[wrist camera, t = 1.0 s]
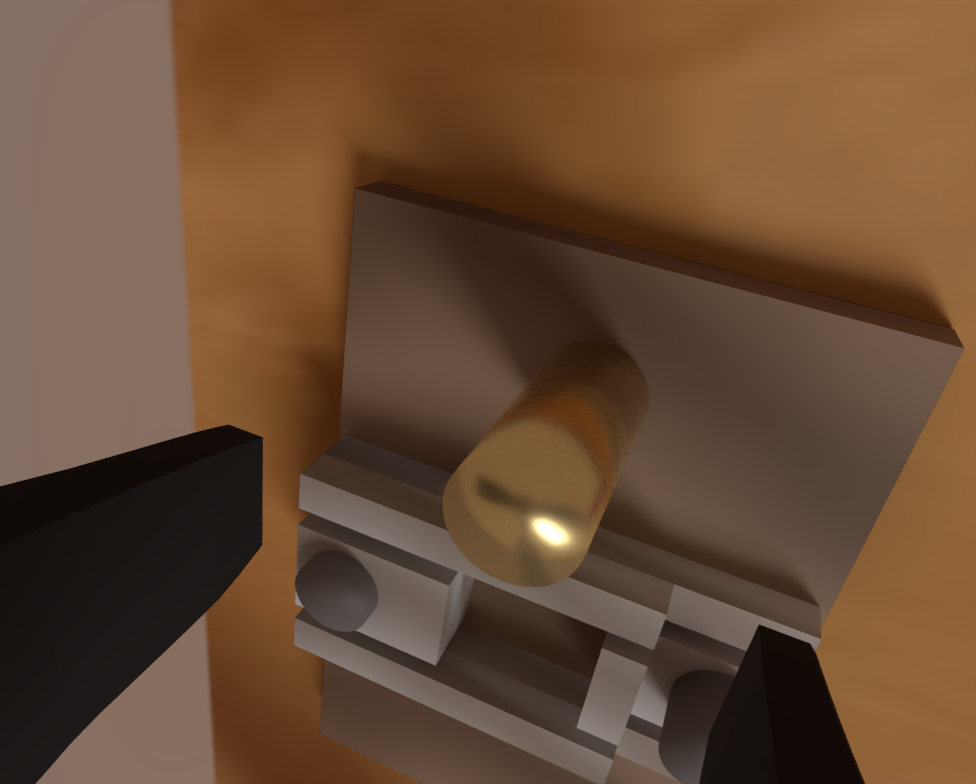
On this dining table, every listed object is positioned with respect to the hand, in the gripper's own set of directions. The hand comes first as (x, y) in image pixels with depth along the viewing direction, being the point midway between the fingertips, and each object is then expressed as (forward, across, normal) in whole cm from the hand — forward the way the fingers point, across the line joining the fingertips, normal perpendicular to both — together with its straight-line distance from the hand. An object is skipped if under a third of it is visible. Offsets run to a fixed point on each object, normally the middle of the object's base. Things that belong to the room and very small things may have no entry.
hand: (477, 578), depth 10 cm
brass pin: (+6, 0, 0) cm, 7 cm away
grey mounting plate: (+8, 0, +6) cm, 10 cm away
